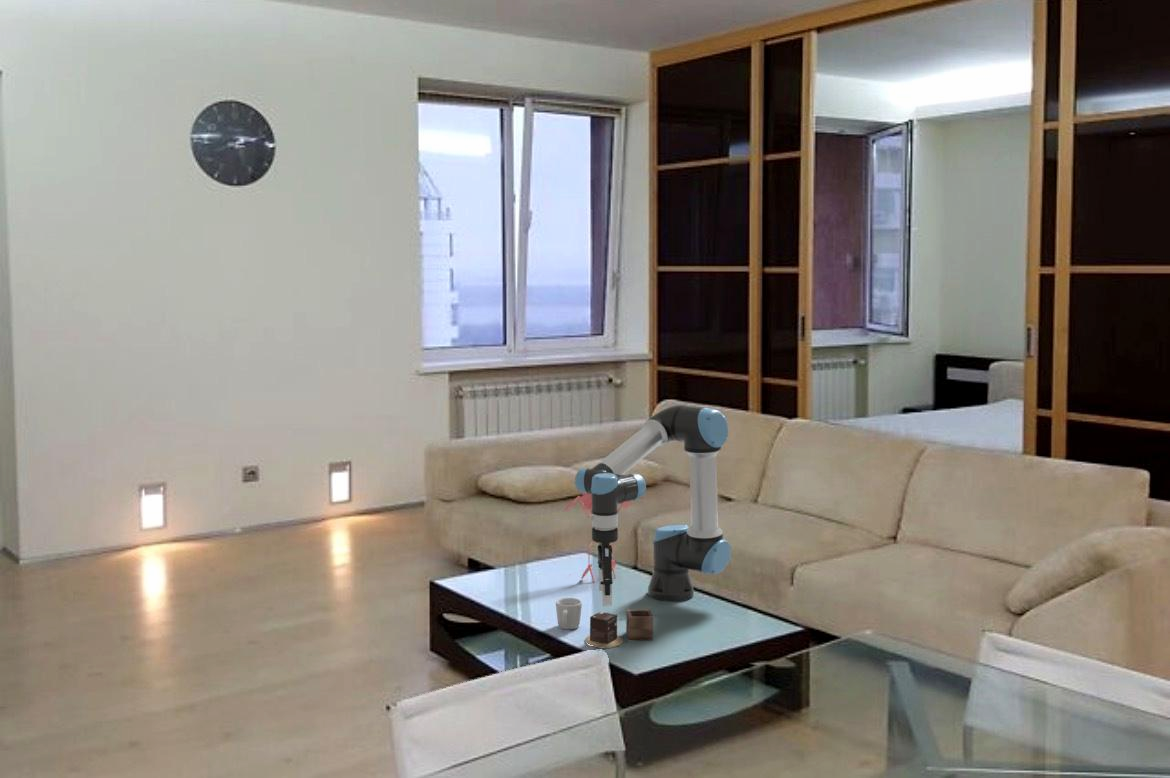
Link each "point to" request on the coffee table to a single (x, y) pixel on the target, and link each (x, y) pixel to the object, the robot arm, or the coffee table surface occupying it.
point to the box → (603, 627)
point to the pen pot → (639, 625)
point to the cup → (568, 612)
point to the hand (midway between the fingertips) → (605, 597)
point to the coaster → (609, 645)
